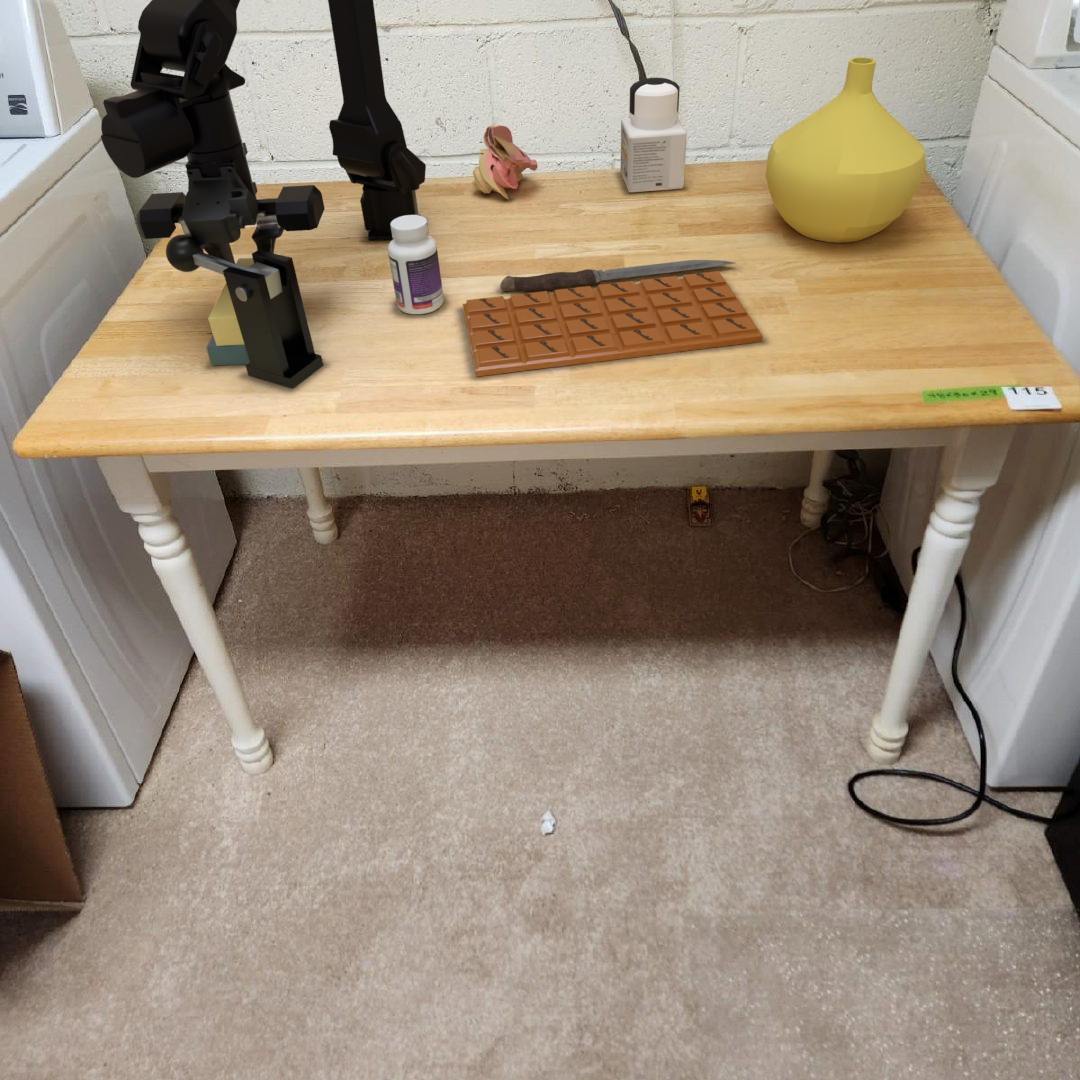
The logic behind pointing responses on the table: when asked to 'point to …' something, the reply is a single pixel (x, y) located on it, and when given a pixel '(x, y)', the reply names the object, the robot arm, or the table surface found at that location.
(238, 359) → the butter dish
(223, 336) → the butter
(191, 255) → the lever handle
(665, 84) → the container
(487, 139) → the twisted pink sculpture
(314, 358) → the stand
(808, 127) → the vase
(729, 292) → the chocolate bar
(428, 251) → the pill bottle
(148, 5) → the robot arm
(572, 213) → the table surface
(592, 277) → the knife
